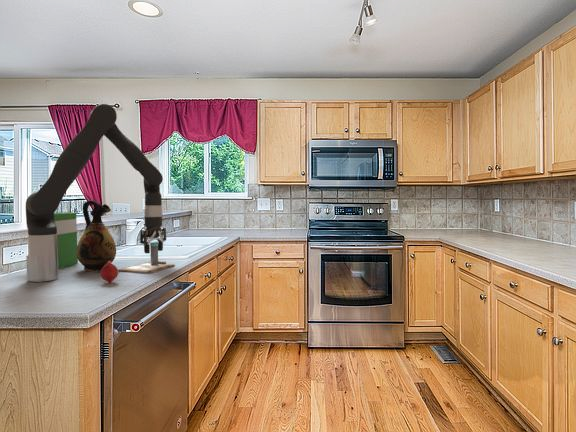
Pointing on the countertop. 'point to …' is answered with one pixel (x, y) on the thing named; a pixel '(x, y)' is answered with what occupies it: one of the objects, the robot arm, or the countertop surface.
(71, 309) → the countertop surface
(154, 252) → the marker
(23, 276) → the countertop surface
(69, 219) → the hardback book
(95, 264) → the ceramic jug
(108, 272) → the onion
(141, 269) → the clipboard
